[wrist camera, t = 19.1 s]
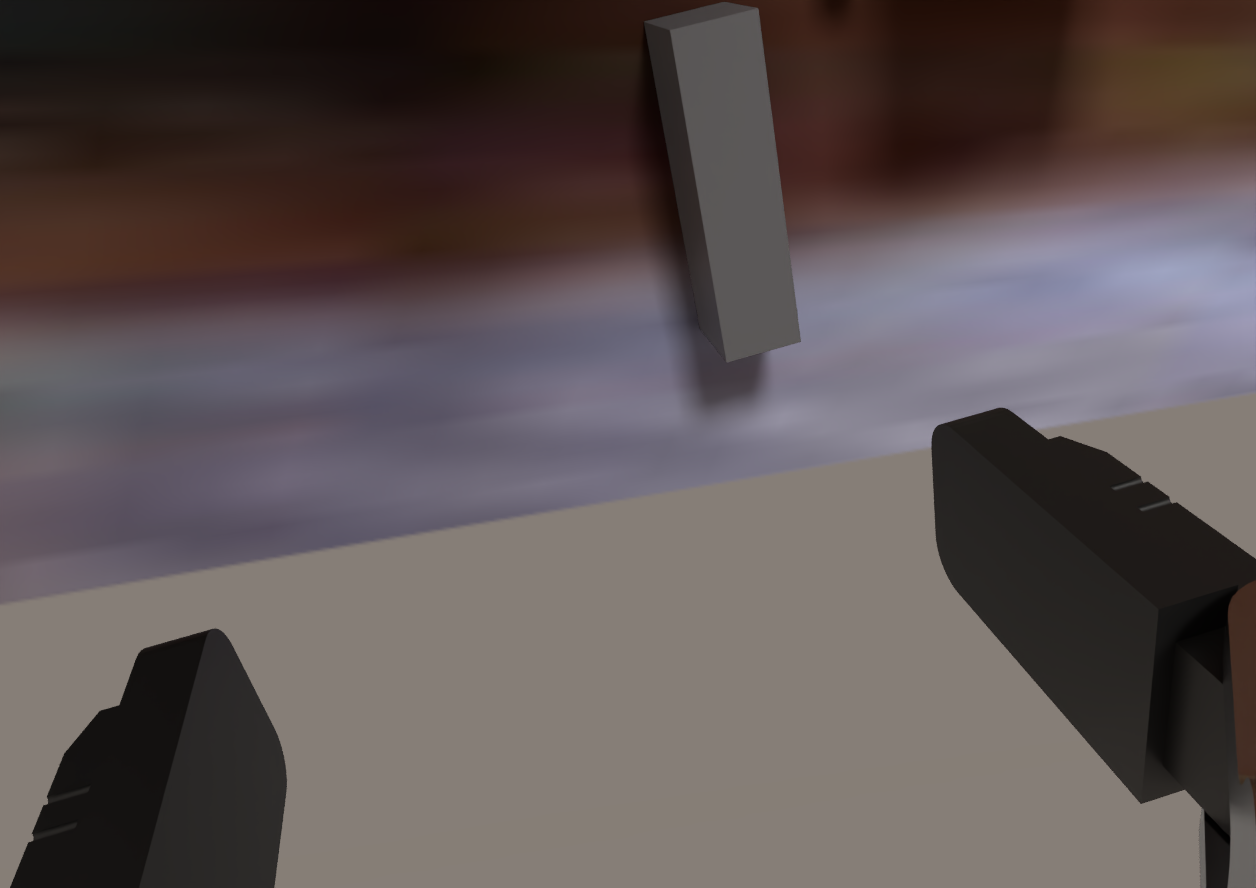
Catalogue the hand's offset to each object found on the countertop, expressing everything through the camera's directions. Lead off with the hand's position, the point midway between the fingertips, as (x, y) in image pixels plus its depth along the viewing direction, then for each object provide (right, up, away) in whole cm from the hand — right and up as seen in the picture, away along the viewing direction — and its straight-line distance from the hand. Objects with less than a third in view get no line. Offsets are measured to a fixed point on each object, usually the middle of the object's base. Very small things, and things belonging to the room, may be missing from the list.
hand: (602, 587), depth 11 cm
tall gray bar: (+3, +12, +27) cm, 30 cm away
